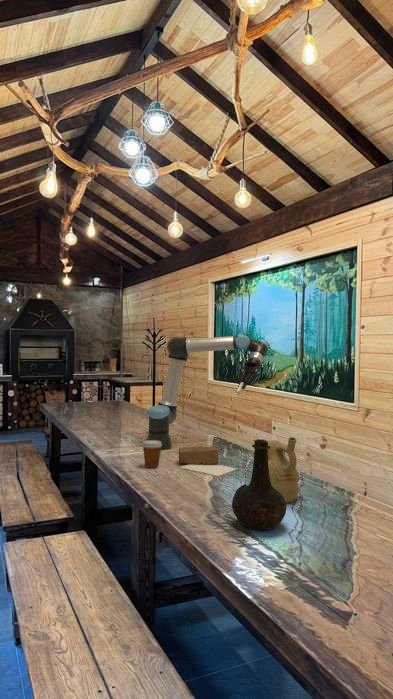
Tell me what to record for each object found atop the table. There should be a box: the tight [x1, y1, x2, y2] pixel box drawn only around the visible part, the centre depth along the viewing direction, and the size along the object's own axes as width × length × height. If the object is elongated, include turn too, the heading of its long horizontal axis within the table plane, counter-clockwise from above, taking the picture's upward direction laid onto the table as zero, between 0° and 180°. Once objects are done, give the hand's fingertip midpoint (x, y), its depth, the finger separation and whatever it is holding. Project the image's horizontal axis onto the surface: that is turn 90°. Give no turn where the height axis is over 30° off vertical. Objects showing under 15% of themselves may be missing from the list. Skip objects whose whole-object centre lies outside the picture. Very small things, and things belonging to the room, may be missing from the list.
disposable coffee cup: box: [141, 439, 162, 469], centre depth 217 cm, size 10×10×12 cm
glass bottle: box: [231, 439, 287, 531], centre depth 148 cm, size 18×18×28 cm
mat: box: [179, 463, 238, 478], centre depth 216 cm, size 22×16×1 cm
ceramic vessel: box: [268, 436, 300, 504], centre depth 176 cm, size 17×20×25 cm
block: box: [178, 446, 220, 465], centre depth 226 cm, size 11×8×20 cm
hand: (238, 392), depth 243 cm, fingers closed
